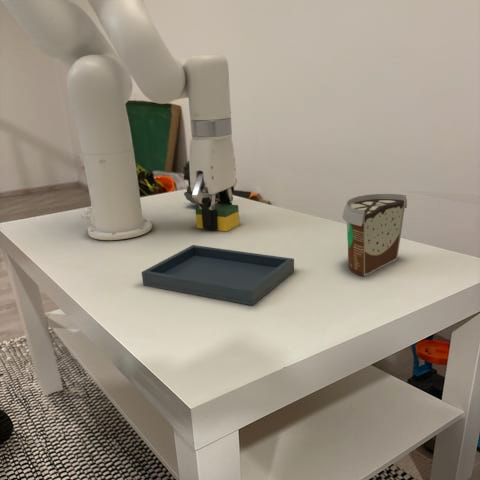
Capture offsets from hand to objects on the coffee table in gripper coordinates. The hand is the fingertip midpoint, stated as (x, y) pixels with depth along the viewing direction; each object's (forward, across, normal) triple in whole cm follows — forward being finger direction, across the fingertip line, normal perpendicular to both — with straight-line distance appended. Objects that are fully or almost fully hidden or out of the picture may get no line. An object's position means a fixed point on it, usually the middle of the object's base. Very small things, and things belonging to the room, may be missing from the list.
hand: (218, 224), depth 102 cm
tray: (0, +24, +15) cm, 28 cm away
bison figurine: (+1, -12, -11) cm, 16 cm away
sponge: (0, 0, 0) cm, 0 cm away
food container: (+1, +10, +33) cm, 34 cm away
